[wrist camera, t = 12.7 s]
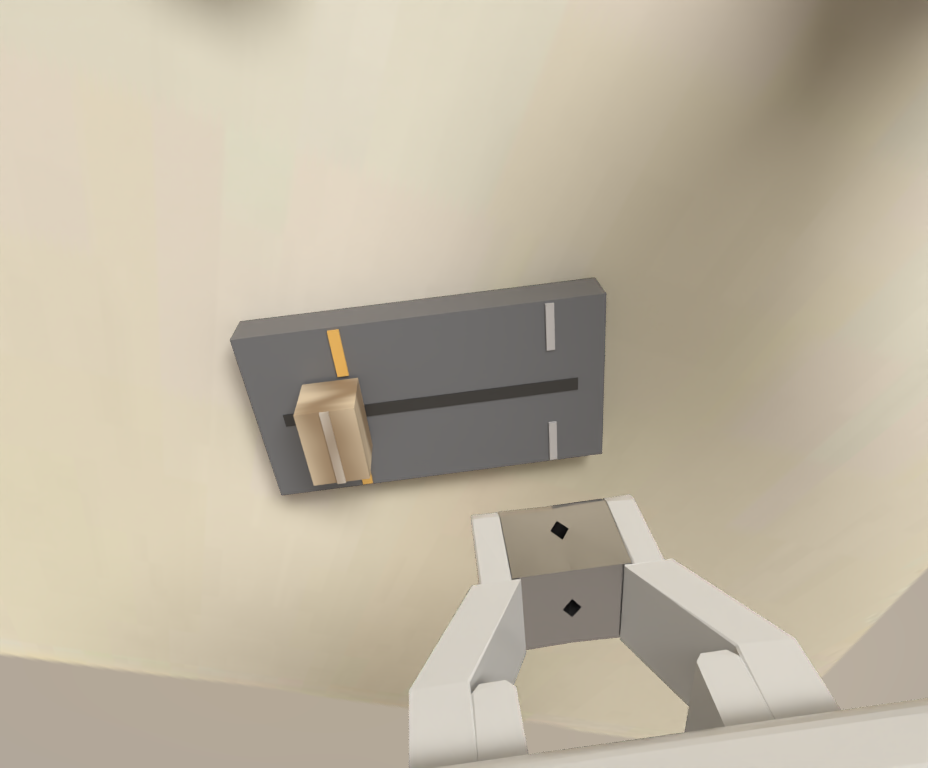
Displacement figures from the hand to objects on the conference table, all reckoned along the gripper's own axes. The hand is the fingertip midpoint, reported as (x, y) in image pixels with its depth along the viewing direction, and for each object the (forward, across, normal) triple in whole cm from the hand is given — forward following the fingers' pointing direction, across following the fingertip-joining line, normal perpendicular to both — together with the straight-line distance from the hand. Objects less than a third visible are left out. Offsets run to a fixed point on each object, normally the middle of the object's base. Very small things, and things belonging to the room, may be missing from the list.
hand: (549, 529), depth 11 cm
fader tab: (+30, +10, +16) cm, 35 cm away
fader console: (+33, +3, +16) cm, 37 cm away
